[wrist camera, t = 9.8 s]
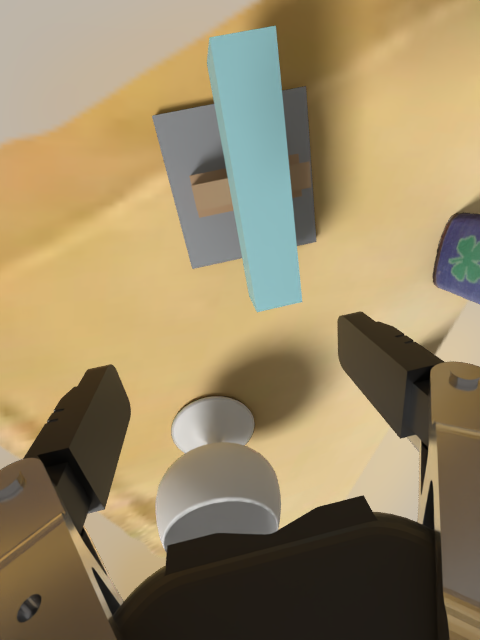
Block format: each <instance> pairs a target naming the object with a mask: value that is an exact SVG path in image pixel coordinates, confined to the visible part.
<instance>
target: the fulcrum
mask: <svg viewBox="0 0 480 640" xmlns="http://www.w3.org/2000/svg"><path fill="white" fill-rule="evenodd" d="M282 97H283V107H284V118H285V128H286V139H287V149H288V159H289V170H290V180H291V191H292V201H293V212H294V222H295V233H296V243H297V246H299V245H304V244H308V243H313V242H316V229H315V214H314V199H313V184H312V169H311V154H310V139H309V124H308V109H307V94H306V86H304V87H299V88H294V89H289V90H283V91H282ZM152 118H153V121H154V125H155V129H156V133H157V137H158V140H159V144H160V148H161V152H162V156H163V159H164V163H165V167H166V171H167V175H168V178H169V182H170V186H171V190H172V193H173V197H174V201H175V205H176V209H177V212H178V216H179V220H180V224H181V228H182V231H183V235H184V239H185V243H186V247H187V250H188V254H189V258H190V262H191V266H192V269H194V268H199V267H203V266H208V265H212V264H217V263H222V262H226V261H231V260H235V259H240V258H242V254H241V248H240V243H239V237H238V232H237V226H236V221H235V215H234V209H233V204H232V198H231V193H230V187H229V182H228V176H227V171H226V165H225V160H224V154H223V149H222V143H221V138H220V132H219V127H218V121H217V116H216V110H215V105H214V104H211V105H206V106H200V107H195V108H190V109H185V110H180V111H175V112H169V113H164V114H159V115H154V116H152Z"/></svg>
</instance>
